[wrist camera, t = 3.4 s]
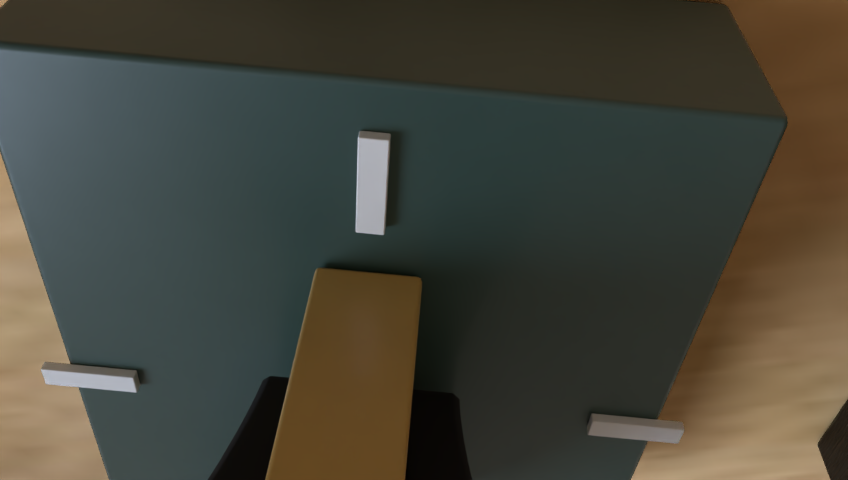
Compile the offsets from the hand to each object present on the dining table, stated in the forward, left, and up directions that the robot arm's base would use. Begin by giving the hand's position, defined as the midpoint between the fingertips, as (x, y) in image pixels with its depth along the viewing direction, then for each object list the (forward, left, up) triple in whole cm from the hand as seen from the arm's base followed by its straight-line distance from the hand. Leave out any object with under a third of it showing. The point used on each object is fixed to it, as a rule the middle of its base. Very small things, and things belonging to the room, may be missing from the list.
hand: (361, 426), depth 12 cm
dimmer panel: (0, 0, -3) cm, 3 cm away
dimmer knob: (0, 0, 0) cm, 0 cm away
